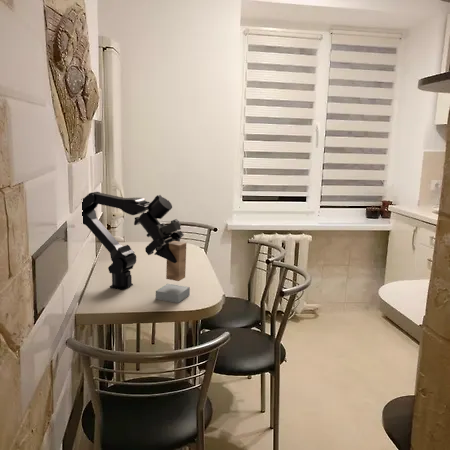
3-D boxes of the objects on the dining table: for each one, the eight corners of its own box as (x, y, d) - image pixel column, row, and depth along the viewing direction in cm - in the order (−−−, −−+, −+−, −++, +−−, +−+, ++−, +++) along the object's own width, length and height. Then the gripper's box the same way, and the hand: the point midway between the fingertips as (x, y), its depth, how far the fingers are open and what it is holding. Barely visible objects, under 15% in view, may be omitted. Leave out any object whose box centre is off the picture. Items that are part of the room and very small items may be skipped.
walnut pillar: (166, 278, 160) (167, 243, 157) (173, 275, 164) (174, 240, 162) (178, 281, 158) (179, 245, 155) (185, 277, 162) (186, 242, 160)
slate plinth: (155, 299, 159) (155, 290, 158) (167, 291, 167) (167, 283, 166) (178, 303, 155) (178, 294, 155) (189, 294, 164) (189, 286, 163)
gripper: (153, 216, 149) (182, 253, 147) (179, 209, 166) (205, 241, 164) (133, 237, 154) (160, 272, 152) (160, 227, 171) (186, 259, 169)
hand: (179, 260), depth 159 cm, fingers closed on walnut pillar, 5 cm apart
